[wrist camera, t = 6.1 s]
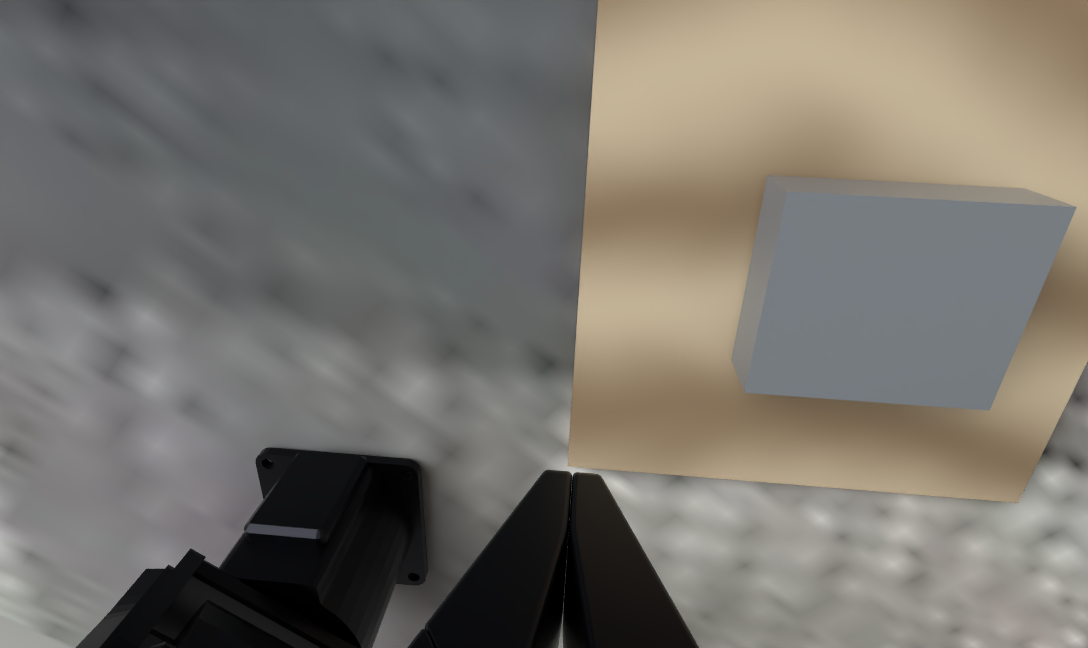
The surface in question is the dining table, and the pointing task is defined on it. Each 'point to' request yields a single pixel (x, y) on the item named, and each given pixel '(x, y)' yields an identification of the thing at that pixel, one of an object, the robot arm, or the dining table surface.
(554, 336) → the dining table surface
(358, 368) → the dining table surface
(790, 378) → the block
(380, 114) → the dining table surface
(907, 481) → the board
